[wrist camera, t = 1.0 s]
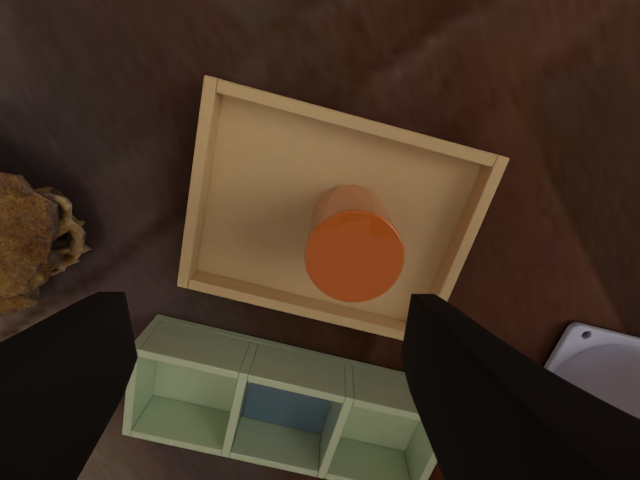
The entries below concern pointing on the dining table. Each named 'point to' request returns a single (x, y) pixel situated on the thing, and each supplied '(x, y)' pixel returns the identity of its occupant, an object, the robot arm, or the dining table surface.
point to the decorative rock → (34, 240)
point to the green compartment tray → (273, 405)
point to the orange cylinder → (353, 245)
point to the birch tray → (304, 192)
